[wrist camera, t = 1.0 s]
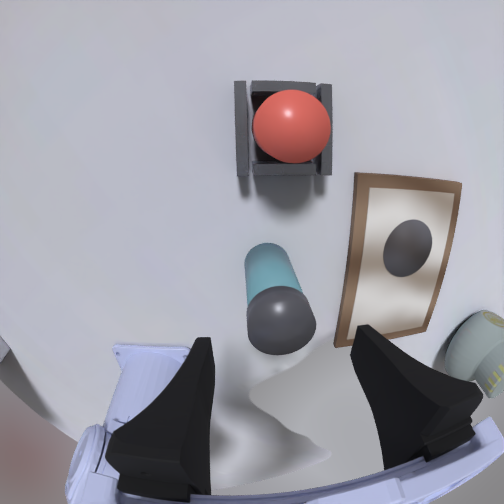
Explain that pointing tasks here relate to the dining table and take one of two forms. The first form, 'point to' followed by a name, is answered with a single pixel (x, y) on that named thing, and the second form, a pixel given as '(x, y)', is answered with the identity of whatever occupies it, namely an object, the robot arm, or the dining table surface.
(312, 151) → the button
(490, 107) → the dining table surface
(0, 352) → the coffee box
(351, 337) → the picture frame
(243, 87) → the button collar
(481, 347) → the air freshener
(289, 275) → the marker
